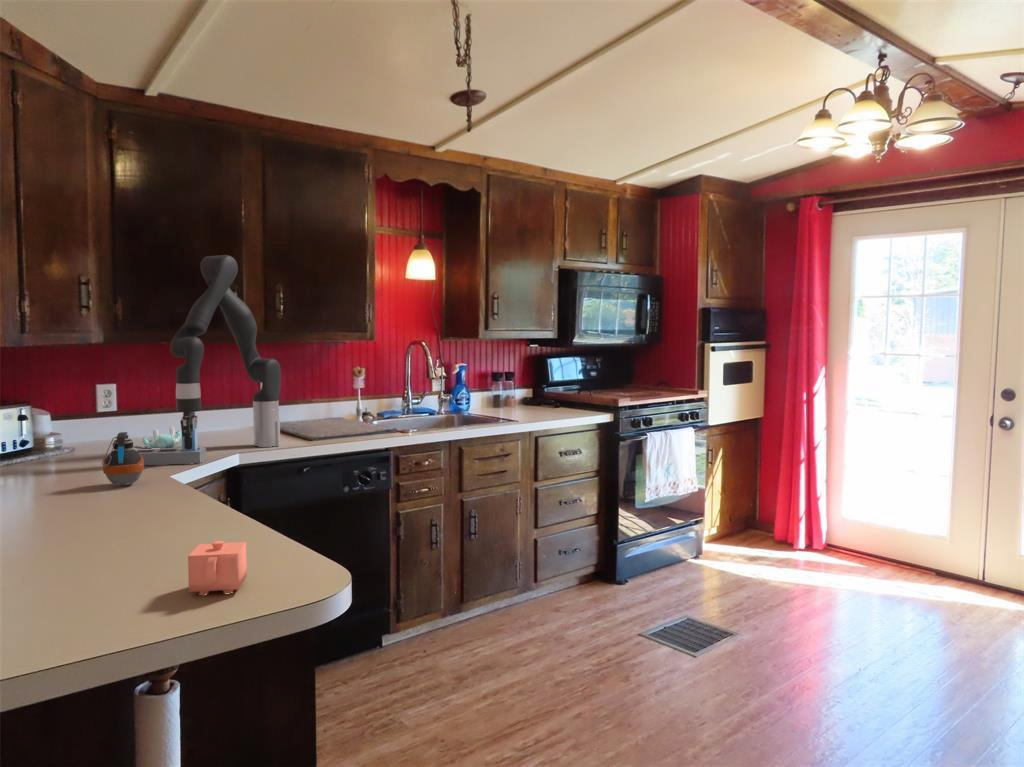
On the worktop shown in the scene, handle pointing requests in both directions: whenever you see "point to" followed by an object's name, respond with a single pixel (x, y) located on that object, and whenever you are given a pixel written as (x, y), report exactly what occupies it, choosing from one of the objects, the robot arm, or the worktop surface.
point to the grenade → (123, 462)
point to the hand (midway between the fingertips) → (190, 447)
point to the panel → (172, 456)
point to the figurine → (163, 439)
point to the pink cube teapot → (217, 567)
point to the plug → (194, 441)
